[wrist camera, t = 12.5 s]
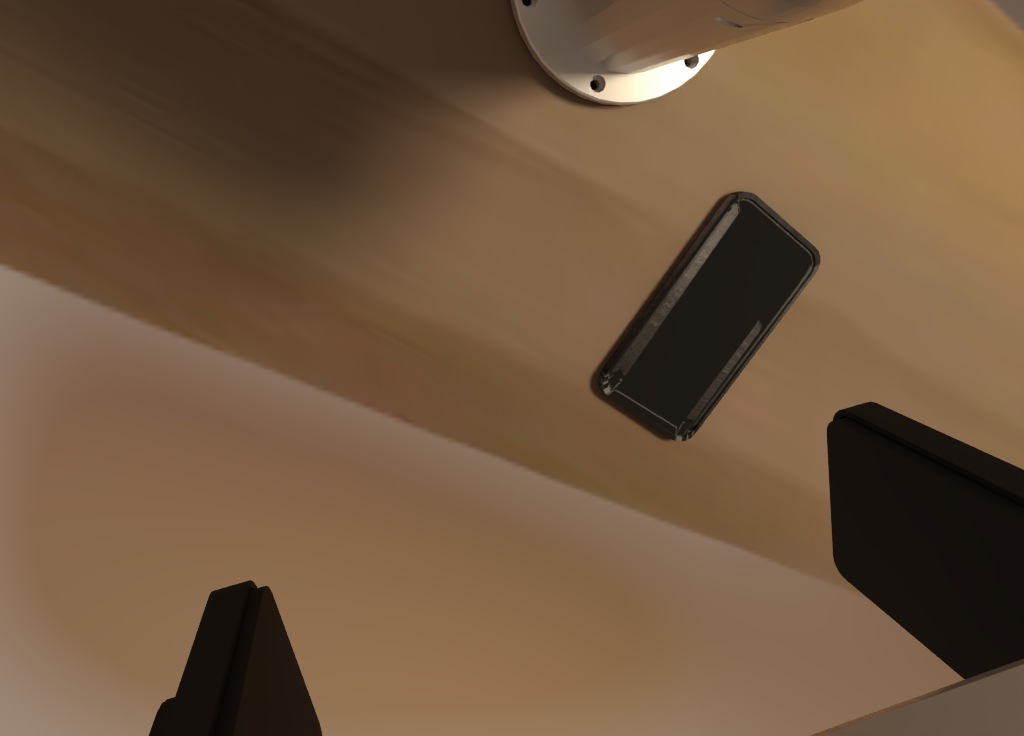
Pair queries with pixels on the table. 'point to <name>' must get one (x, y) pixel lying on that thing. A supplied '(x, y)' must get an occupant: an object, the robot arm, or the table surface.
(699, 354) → the phone
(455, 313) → the table surface
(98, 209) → the table surface
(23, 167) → the table surface
